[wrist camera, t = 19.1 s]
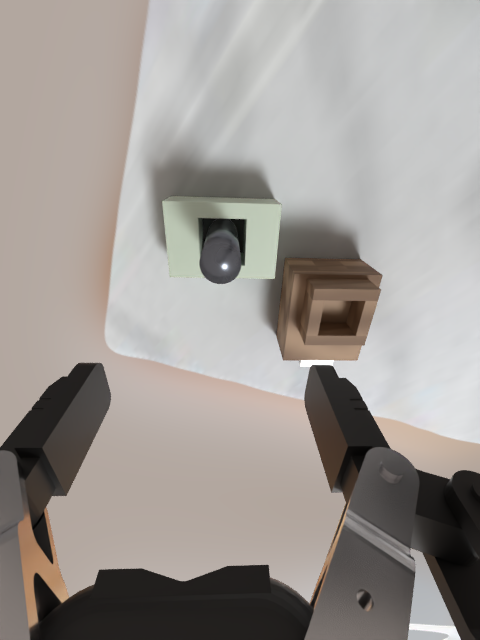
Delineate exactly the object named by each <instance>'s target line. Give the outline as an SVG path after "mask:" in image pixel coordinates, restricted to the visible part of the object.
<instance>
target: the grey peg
mask: <svg viewBox="0 0 480 640" xmlns="http://www.w3.org/2000/svg"><path fill="white" fill-rule="evenodd" d="M199 266H200V270H201V272H202V274H203V275H204V277H205V278H206V279H208V280H209V281H211V282H213V283H217V284H225V283H228V282H231V281H232V280H234V279H235V278H236V277H237V276H238V274H239V272H240V270H241V256H240V248H239V241H238V233H237V228H236V226H235V224H234V223H233V222H232V221H231V220H229V219H224V218H219V219H216V220H215V221H213V222H212V223H211V225H210V227H209V229H208V233H207V236H206V239H205V243H204V246H203V250H202V253H201V256H200V260H199Z"/></svg>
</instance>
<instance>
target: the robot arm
mask: <svg viewBox="0 0 480 640" xmlns="http://www.w3.org/2000/svg"><path fill="white" fill-rule="evenodd" d="M110 400H111V393H110V389H109V385H108V382H107V378H106V375H105V371H104V367H103V365H102V364H101V363H78V364H77V365H76V366H75V367H74V369H73V370H72V371H71V373H70V374H69V375H68V377H61V378H60V379H59V380H57V381H56V382H54V383H53V384H52V385H50V386H49V387H48V388H47V389H46V391H45V392H44V393H43V394H42V396H41V397H40V400H39V401H37V402H36V403H35V404H34V406H33V407H32V410H31V411H29V412H28V413H27V414H26V416H25V417H24V418H23V420H22V421H21V422H20V423H19V425H18V426H17V427H16V428H15V430H14V431H13V432H12V433H11V435H10V436H9V437H8V438H7V440H6V441H5V442H4V443H3V445H2V446H1V447H0V640H407V639H408V630H409V622H410V613H411V605H412V597H413V588H414V580H415V560H414V558H413V557H411V555H410V548H412V549H415V550H418V551H420V552H422V553H423V555H424V557H425V559H426V561H427V564H428V566H429V568H430V571H431V573H432V575H433V577H434V580H435V582H436V584H437V586H438V589H439V591H440V593H441V595H442V598H443V600H444V602H445V604H446V607H447V609H448V611H449V613H450V615H451V618H452V620H453V622H454V625H455V627H456V629H457V631H458V634H459V636H460V638H461V640H480V474H479V473H476V472H472V471H467V470H462V471H458V472H456V473H455V474H454V475H453V476H452V478H451V479H447V478H443V477H440V476H437V475H433V474H429V473H426V472H423V471H420V470H417V469H415V468H414V466H413V465H412V464H411V462H410V461H409V460H408V459H407V458H405V457H404V456H403V455H401V454H400V453H398V452H396V451H394V450H392V449H391V448H390V447H389V445H388V443H387V442H386V440H385V438H384V436H383V434H382V433H381V431H380V429H379V427H378V425H377V424H376V422H375V420H374V418H373V416H372V415H371V413H370V411H368V408H367V406H366V404H365V402H364V401H363V399H362V397H361V395H360V393H359V391H358V390H357V388H356V387H355V386H354V385H353V384H352V383H351V382H350V381H348V380H347V379H346V378H339V377H338V375H337V373H336V371H335V369H334V367H333V366H332V365H311V367H310V370H309V375H308V380H307V385H306V390H305V408H306V411H307V415H308V418H309V421H310V424H311V428H312V431H313V434H314V437H315V441H316V444H317V447H318V450H319V454H320V457H321V460H322V463H323V467H324V470H325V473H326V476H327V480H328V483H329V486H330V489H331V492H332V493H334V492H335V493H337V492H343V495H344V498H345V501H346V504H345V506H344V509H343V512H342V515H341V518H340V520H339V524H338V526H337V529H336V532H335V535H334V537H333V540H332V543H331V546H330V549H329V552H328V554H327V557H326V560H325V563H324V566H323V568H322V571H321V573H320V576H319V579H318V582H317V584H316V587H315V590H314V593H313V595H312V598H311V601H310V604H309V603H308V602H307V601H306V600H305V599H304V598H303V597H302V596H301V595H300V594H298V593H297V592H296V591H295V590H293V589H292V588H290V587H289V586H287V585H286V584H284V583H282V582H280V581H278V580H275V579H273V578H270V576H269V565H249V566H227V567H224V568H221V569H219V570H216V571H213V572H210V573H208V574H205V575H203V576H200V577H197V578H194V579H191V580H189V581H178V580H175V579H172V578H169V577H166V576H163V575H160V574H157V573H154V572H151V571H148V570H144V569H108V570H99V572H98V575H97V578H96V582H95V585H92V586H89V587H87V588H85V589H83V590H81V591H79V592H77V593H76V594H74V595H73V596H71V597H70V598H69V595H68V592H67V589H66V585H65V583H64V580H63V578H62V575H61V572H60V569H59V565H58V560H57V555H56V550H55V545H54V540H53V535H52V530H51V525H50V520H49V515H48V511H47V508H46V506H47V504H48V502H49V500H50V498H51V496H66V495H67V493H68V491H69V489H70V487H71V485H72V483H73V481H74V479H75V477H76V475H77V473H78V471H79V469H80V467H81V464H82V462H83V460H84V458H85V456H86V454H87V452H88V450H89V448H90V446H91V444H92V442H93V440H94V438H95V436H96V433H97V432H98V429H99V427H100V425H101V423H102V421H103V419H104V417H105V415H106V413H107V411H108V409H109V406H110Z"/></svg>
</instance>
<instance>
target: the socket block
mask: <svg viewBox="0 0 480 640" xmlns="http://www.w3.org/2000/svg"><path fill="white" fill-rule="evenodd" d="M381 279H382V274H380V273H379V272H377V271H376V270H375V269H373V268H372V267H371V266H369V265H368V264H366V263H365V262H364V261H362V260H361V259H321V258H285V263H284V272H283V281H282V290H281V299H280V308H279V317H278V326H277V335H276V336H277V340H278V343H279V347H280V351H281V354H282V358H283V360H358V356H359V353H360V350H361V346H362V345H365V341H366V338H367V335H368V331H369V328H370V325H371V321H372V318H373V315H374V311H375V308H376V305H377V302H378V298H379V295H380V292H381V289H380V288H379V286H380V282H381Z"/></svg>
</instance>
